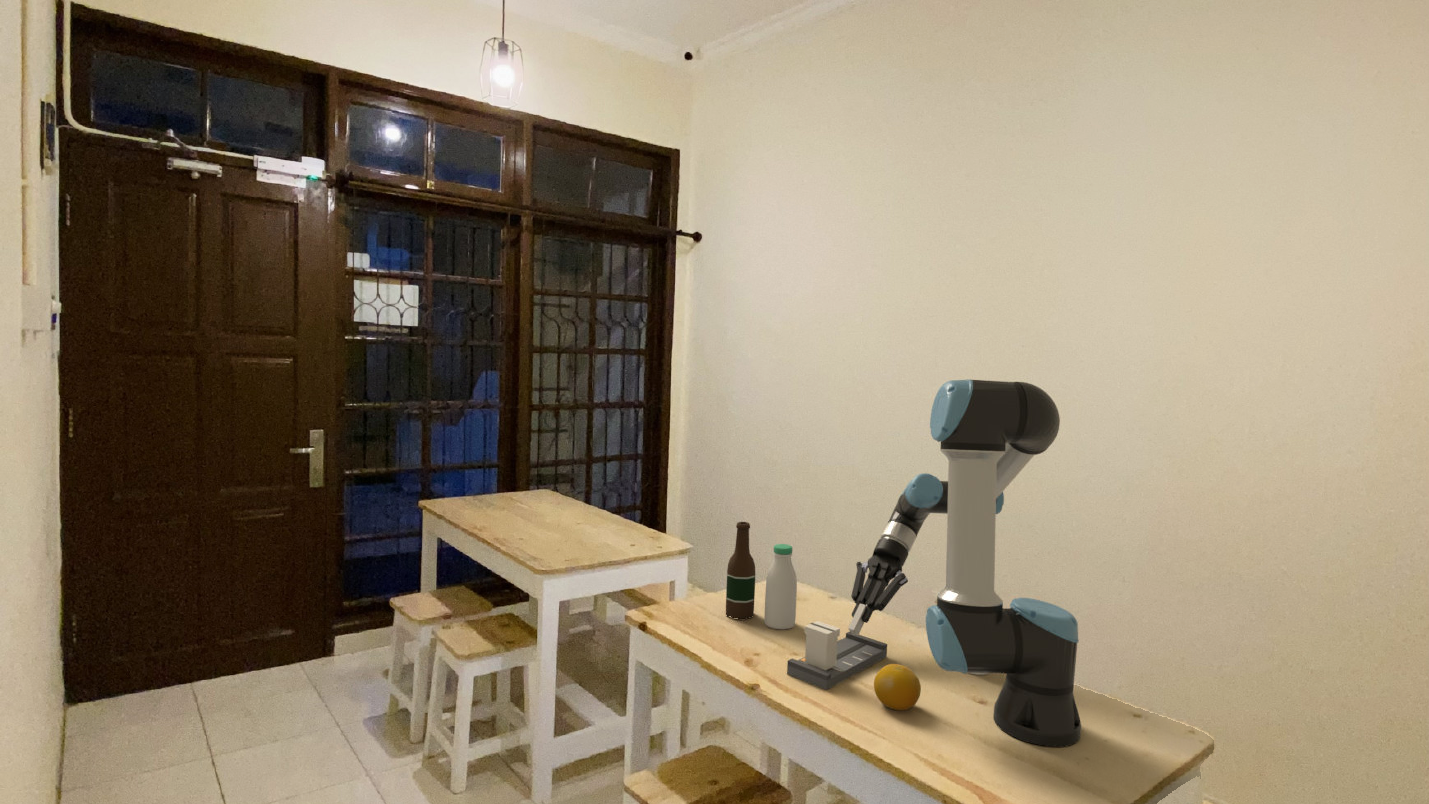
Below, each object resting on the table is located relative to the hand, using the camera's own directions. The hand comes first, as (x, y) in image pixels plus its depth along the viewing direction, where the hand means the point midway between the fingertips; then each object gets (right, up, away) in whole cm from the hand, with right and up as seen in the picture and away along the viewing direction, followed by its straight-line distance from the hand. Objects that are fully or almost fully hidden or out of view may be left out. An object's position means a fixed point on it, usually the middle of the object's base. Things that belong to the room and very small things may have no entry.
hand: (852, 632), depth 170 cm
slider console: (-4, -6, -3) cm, 8 cm away
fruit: (+5, -8, -21) cm, 23 cm away
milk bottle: (-15, -4, +19) cm, 25 cm away
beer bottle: (-25, -3, +25) cm, 35 cm away
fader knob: (-8, -4, -9) cm, 13 cm away
